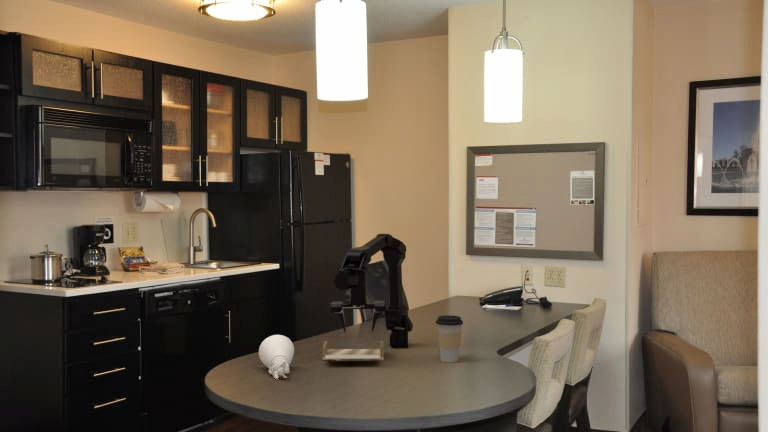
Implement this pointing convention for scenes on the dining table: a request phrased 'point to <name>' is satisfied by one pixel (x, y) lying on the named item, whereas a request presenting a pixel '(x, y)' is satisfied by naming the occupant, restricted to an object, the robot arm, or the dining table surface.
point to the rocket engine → (277, 354)
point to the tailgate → (352, 357)
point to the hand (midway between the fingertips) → (358, 331)
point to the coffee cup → (449, 337)
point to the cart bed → (353, 352)
